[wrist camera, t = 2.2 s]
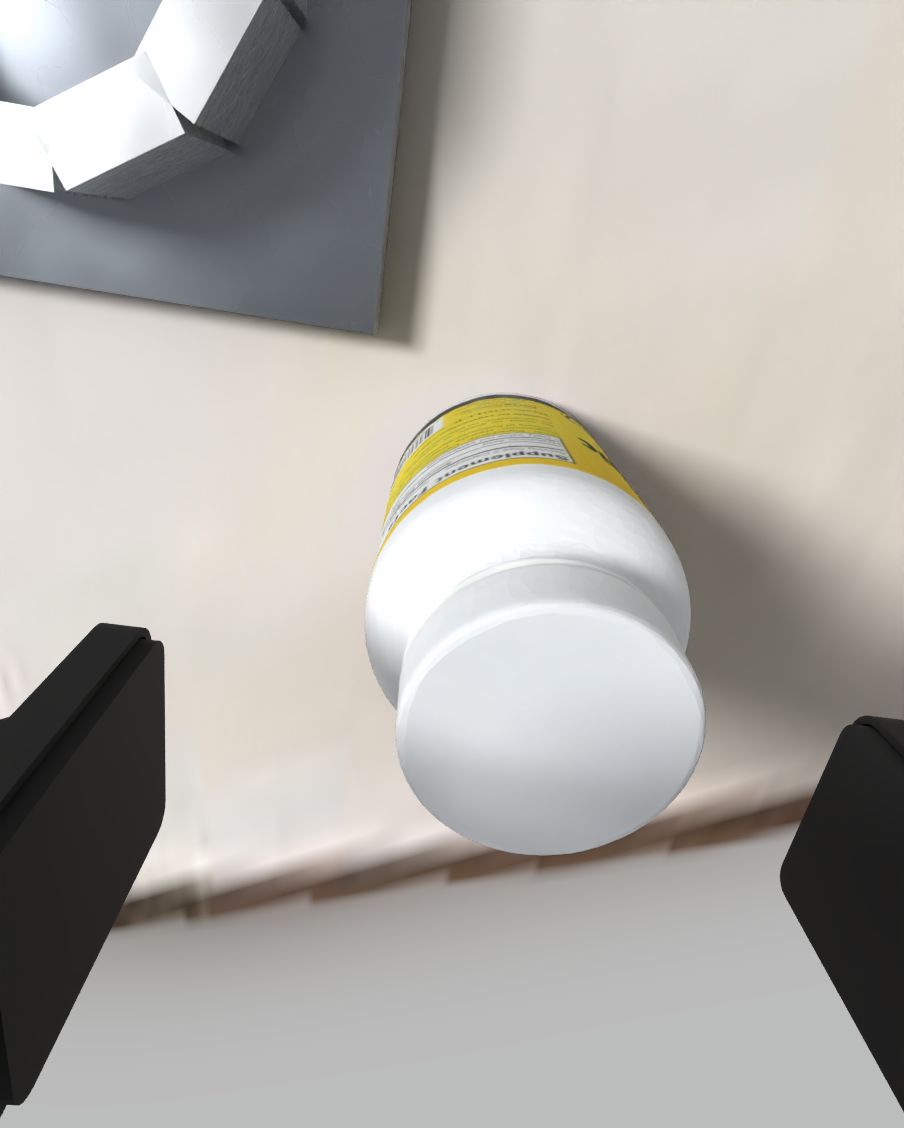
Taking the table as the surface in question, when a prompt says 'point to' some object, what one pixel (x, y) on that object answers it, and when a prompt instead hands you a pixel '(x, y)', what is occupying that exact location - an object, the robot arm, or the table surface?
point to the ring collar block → (204, 151)
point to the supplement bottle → (531, 633)
